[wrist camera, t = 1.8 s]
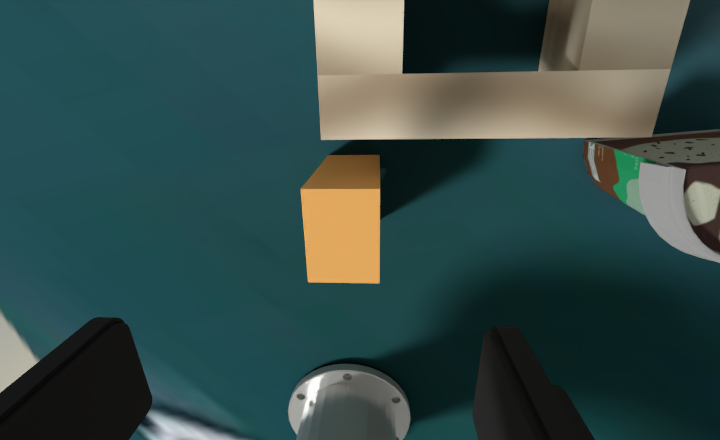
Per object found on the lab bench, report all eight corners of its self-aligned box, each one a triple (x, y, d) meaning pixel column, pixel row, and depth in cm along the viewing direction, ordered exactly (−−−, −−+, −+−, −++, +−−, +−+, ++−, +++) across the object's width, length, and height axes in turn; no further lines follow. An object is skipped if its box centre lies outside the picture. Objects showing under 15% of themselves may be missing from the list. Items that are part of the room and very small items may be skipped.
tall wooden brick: (379, 220, 28) (379, 283, 19) (331, 219, 28) (307, 282, 19) (379, 154, 26) (380, 189, 17) (328, 155, 26) (300, 189, 17)
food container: (553, 219, 27) (645, 284, 18) (562, 141, 25) (672, 170, 16) (718, 208, 26) (907, 271, 17) (742, 127, 24) (973, 148, 15)
